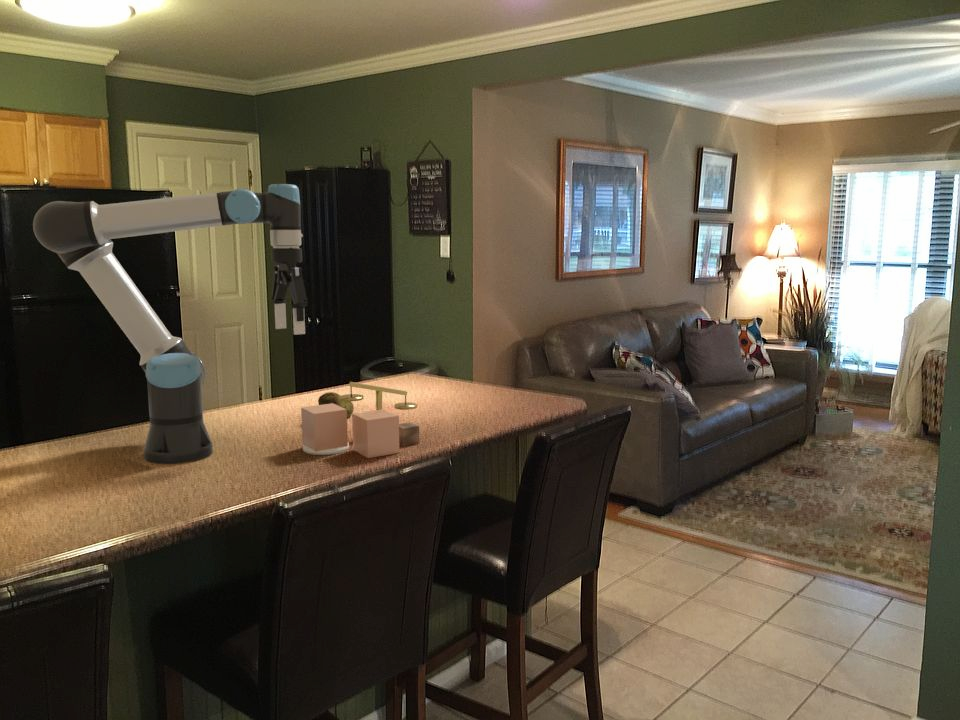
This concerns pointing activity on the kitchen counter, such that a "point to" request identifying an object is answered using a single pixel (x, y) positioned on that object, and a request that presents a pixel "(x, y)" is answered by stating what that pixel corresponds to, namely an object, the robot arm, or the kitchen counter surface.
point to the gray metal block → (408, 434)
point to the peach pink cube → (324, 426)
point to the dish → (325, 452)
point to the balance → (377, 396)
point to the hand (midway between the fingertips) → (290, 331)
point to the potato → (336, 402)
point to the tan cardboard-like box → (375, 433)
